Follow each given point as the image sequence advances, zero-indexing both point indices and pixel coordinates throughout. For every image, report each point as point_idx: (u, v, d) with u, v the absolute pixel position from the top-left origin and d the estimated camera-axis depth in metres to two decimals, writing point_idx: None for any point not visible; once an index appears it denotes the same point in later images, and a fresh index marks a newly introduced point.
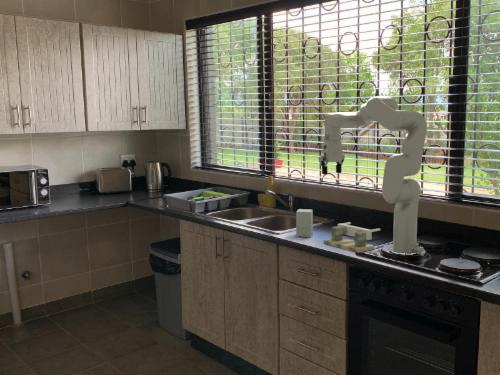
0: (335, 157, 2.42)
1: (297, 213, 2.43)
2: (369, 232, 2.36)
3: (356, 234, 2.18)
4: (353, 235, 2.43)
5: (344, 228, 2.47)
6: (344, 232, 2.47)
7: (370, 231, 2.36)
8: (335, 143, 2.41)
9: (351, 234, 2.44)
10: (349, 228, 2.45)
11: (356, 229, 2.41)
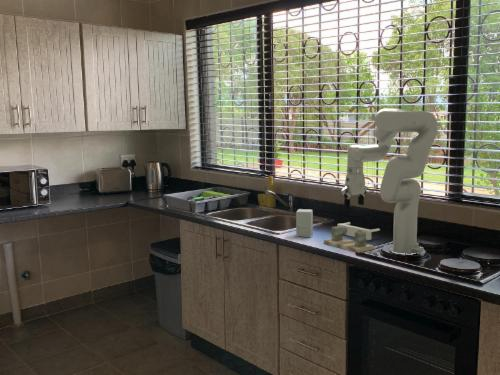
0: (358, 190, 2.39)
1: (297, 213, 2.43)
2: (369, 232, 2.35)
3: (356, 234, 2.18)
4: (353, 235, 2.43)
5: (344, 228, 2.47)
6: (344, 232, 2.47)
7: (370, 231, 2.36)
8: (358, 176, 2.38)
9: (351, 234, 2.44)
10: (349, 228, 2.44)
11: (356, 229, 2.41)
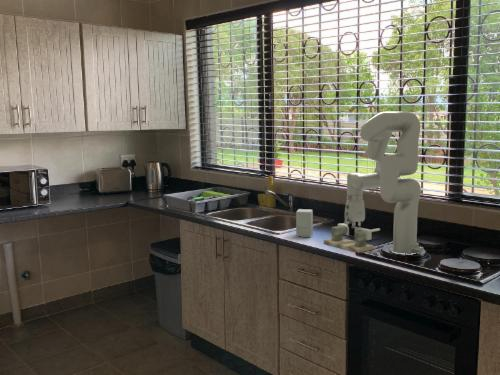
0: (358, 217, 2.41)
1: (297, 213, 2.43)
2: (369, 232, 2.36)
3: (356, 234, 2.18)
4: None
5: (344, 228, 2.47)
6: (344, 232, 2.47)
7: (370, 231, 2.36)
8: (358, 203, 2.40)
9: None
10: None
11: (356, 229, 2.41)
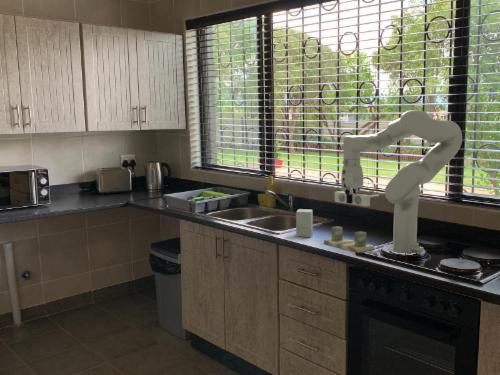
0: (355, 183, 2.26)
1: (297, 213, 2.43)
2: (367, 197, 2.20)
3: (356, 234, 2.18)
4: None
5: (341, 195, 2.32)
6: (341, 200, 2.32)
7: (368, 196, 2.21)
8: (355, 168, 2.25)
9: None
10: None
11: (353, 195, 2.26)
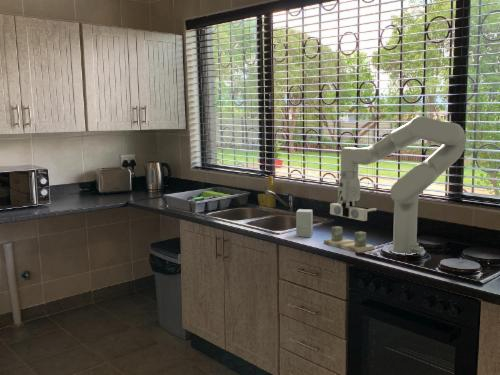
0: (352, 196, 2.19)
1: (297, 213, 2.43)
2: (364, 211, 2.15)
3: (356, 234, 2.18)
4: None
5: (337, 208, 2.26)
6: (337, 212, 2.26)
7: (365, 210, 2.15)
8: (352, 180, 2.19)
9: None
10: None
11: (350, 209, 2.20)
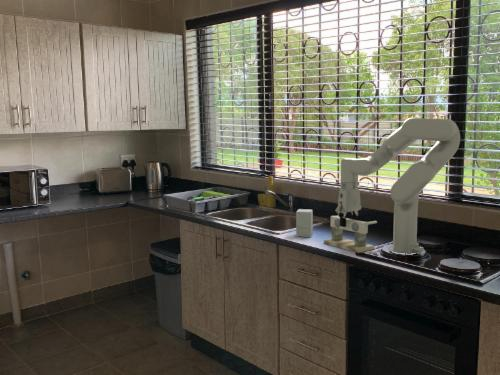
0: (352, 206, 2.20)
1: (297, 213, 2.43)
2: (365, 225, 2.15)
3: (356, 234, 2.18)
4: (347, 228, 2.23)
5: (338, 221, 2.26)
6: (338, 225, 2.27)
7: (366, 223, 2.16)
8: (352, 191, 2.19)
9: (345, 227, 2.24)
10: None
11: (351, 222, 2.21)
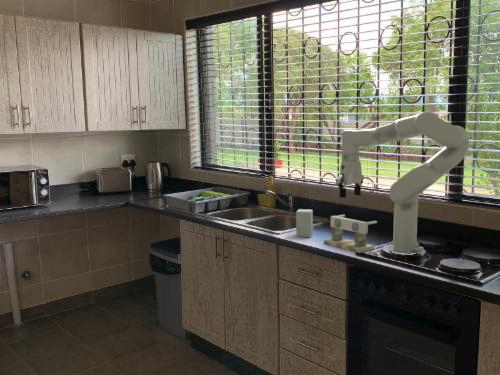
0: (354, 178, 2.19)
1: (297, 213, 2.43)
2: (365, 225, 2.15)
3: (356, 234, 2.18)
4: (347, 228, 2.23)
5: (338, 221, 2.26)
6: (338, 225, 2.27)
7: (366, 223, 2.16)
8: (354, 163, 2.19)
9: (345, 227, 2.24)
10: (343, 220, 2.24)
11: (351, 222, 2.21)
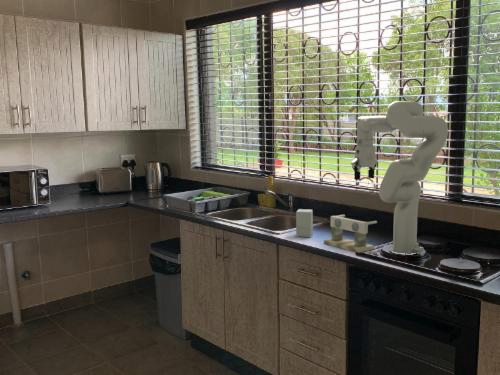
0: (368, 162, 2.35)
1: (297, 213, 2.43)
2: (365, 225, 2.15)
3: (356, 234, 2.18)
4: (347, 228, 2.23)
5: (338, 221, 2.26)
6: (338, 225, 2.27)
7: (366, 223, 2.16)
8: (368, 148, 2.34)
9: (345, 227, 2.24)
10: (343, 220, 2.24)
11: (351, 222, 2.21)
